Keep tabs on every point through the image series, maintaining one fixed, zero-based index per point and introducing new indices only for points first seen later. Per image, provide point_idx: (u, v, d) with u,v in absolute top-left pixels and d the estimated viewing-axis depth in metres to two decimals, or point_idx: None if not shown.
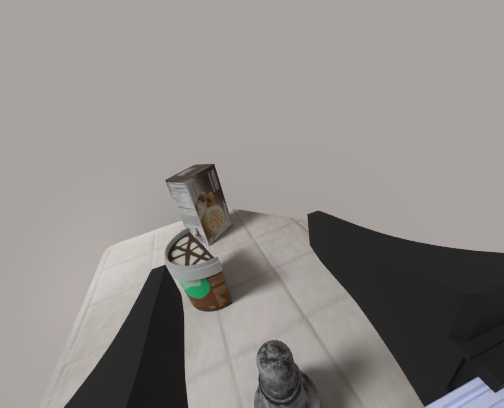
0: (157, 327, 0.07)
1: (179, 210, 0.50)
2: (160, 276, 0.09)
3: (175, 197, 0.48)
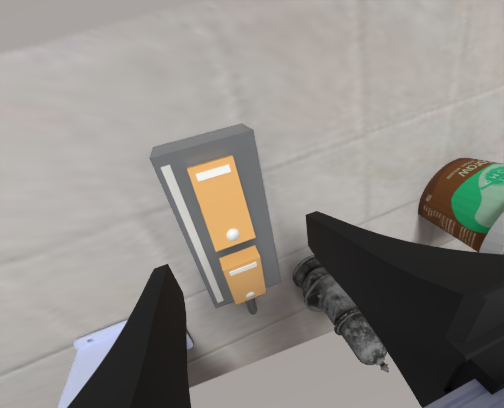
0: (160, 326, 0.07)
1: None
2: (162, 275, 0.09)
3: None
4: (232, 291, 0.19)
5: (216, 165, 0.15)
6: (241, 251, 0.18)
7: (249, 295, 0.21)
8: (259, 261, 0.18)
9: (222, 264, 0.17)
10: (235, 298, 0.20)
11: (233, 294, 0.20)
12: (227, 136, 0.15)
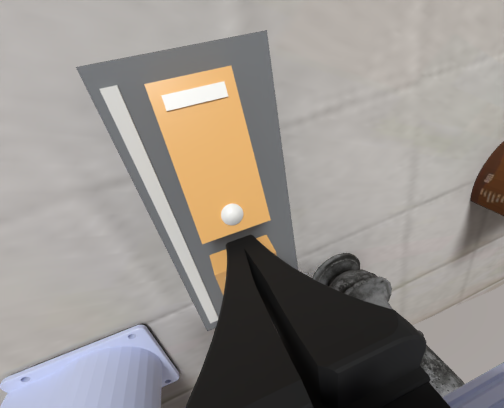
0: None
1: None
2: (241, 247, 0.10)
3: None
4: None
5: (200, 82, 0.08)
6: None
7: None
8: None
9: (214, 264, 0.11)
10: None
11: None
12: (221, 40, 0.09)
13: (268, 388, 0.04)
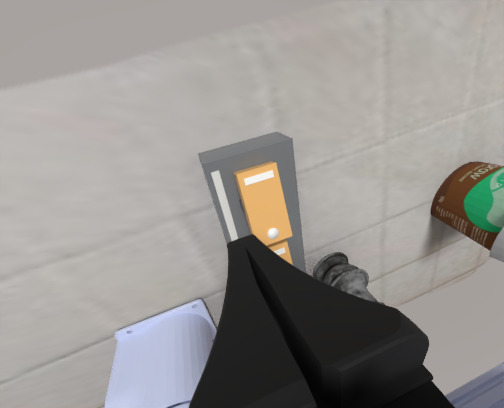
0: None
1: None
2: (242, 246, 0.10)
3: None
4: None
5: (261, 171, 0.16)
6: None
7: None
8: (287, 247, 0.20)
9: None
10: None
11: None
12: (269, 144, 0.17)
13: (271, 387, 0.04)
